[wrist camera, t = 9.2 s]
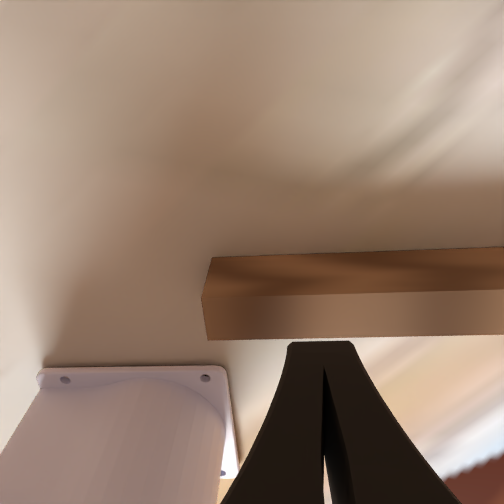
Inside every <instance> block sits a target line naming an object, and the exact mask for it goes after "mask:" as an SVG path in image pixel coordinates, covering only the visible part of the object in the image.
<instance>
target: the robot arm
mask: <svg viewBox="0 0 504 504" xmlns="http://www.w3.org/2000/svg"><path fill="white" fill-rule="evenodd" d="M204 374H206V375H208V377H206V376H203V375H204ZM65 376H66V377H68V378H66V377H65ZM36 378H37V382H38V384H39V387H40V390H39V392H38V394H37V395H36V397H35V399H34V400H33V402H32V404H31V405H30V407H29V409H28V410H27V412H26V413H25V415H24V417H23V418H22V420H21V422H20V423H19V425H18V427H17V428H16V430H15V431H14V433H13V435H12V436H11V438H10V440H9V441H8V443H7V445H6V446H5V448H4V449H3V451H2V453H1V454H0V504H217V497H218V489H219V482H220V478H235V477H236V478H235V480H234V481H233V483H232V485H231V487H230V488H229V490H228V492H227V494H226V495H225V497H224V498H223V500H222V502H221V503H220V504H324V493H323V483H324V456H325V462H326V468H327V474H328V480H329V486H330V492H331V498H332V504H462V503H461V502H460V501H459V500H458V499H457V498H456V496H455V495H454V494H453V493H452V492H451V491H450V489H449V488H448V487H447V486H446V485H445V484H444V482H443V481H442V480H441V479H440V478H439V476H438V475H437V474H436V473H435V471H434V470H433V469H432V468H431V466H430V465H429V464H428V462H427V461H426V460H425V459H424V457H423V456H422V455H421V453H420V452H419V451H418V449H417V448H416V447H415V445H414V444H413V443H412V441H411V440H410V439H409V437H408V436H407V434H406V433H405V432H404V430H403V429H402V427H401V426H400V424H399V423H398V422H397V420H396V419H395V417H394V415H393V414H392V412H391V411H390V409H389V408H388V406H387V405H386V403H385V402H384V400H383V399H382V397H381V395H380V394H379V392H378V391H377V389H376V387H375V386H374V384H373V382H372V380H371V379H370V377H369V375H368V373H367V371H366V370H365V368H364V366H363V364H362V362H361V360H360V358H359V356H358V354H357V351H356V349H355V347H354V345H353V344H352V343H351V342H350V341H308V342H292V343H290V344H289V345H288V346H287V355H286V359H285V364H284V368H283V371H282V375H281V378H280V381H279V384H278V387H277V390H276V392H275V395H274V398H273V400H272V403H271V405H270V408H269V410H268V413H267V415H266V418H265V420H264V422H263V424H262V427H261V429H260V431H259V433H258V435H257V437H256V439H255V441H254V444H253V446H252V448H251V450H250V452H249V454H248V456H247V458H246V460H245V461H244V463H243V465H242V467H241V469H240V466H239V459H238V452H237V444H236V437H235V430H234V422H233V415H232V408H231V401H230V393H229V386H228V379H227V372H226V370H225V369H224V368H223V367H221V366H216V365H208V366H141V367H73V368H43V369H41V370H40V371H39V373H38V374H37V377H36ZM239 470H240V471H239Z"/></svg>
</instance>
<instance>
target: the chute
mask: <svg viewBox="0 0 504 504" xmlns="http://www.w3.org/2000/svg"><path fill="white" fill-rule="evenodd" d="M201 301H202V307H203V314H204V320H205V326H206V333H207V339H208V340H252V339H303V338H353V337H404V336H454V335H504V247H492V248H464V249H437V250H409V251H381V252H354V253H326V254H298V255H271V256H243V257H215V258H212V260H211V264H210V267H209V271H208V275H207V278H206V282H205V285H204V289H203V293H202V296H201Z"/></svg>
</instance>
